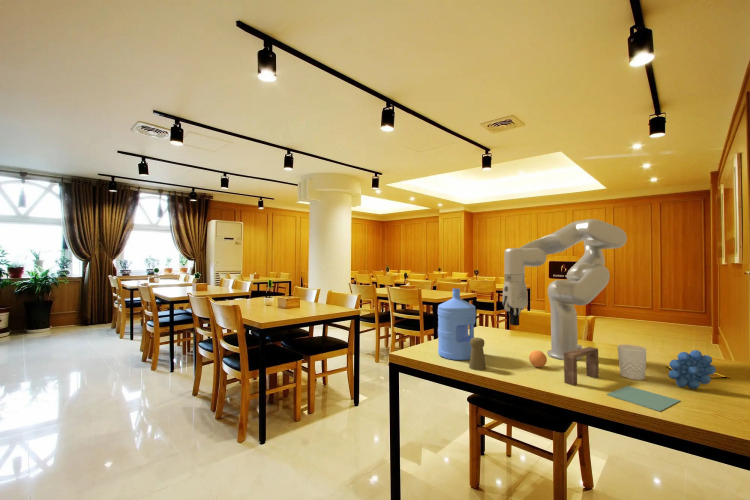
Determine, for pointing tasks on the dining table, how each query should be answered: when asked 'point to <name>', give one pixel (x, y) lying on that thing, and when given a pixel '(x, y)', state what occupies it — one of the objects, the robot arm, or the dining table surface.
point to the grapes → (691, 369)
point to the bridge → (571, 364)
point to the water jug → (455, 327)
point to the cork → (477, 354)
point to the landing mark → (643, 398)
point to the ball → (537, 358)
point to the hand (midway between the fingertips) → (514, 324)
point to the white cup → (632, 361)
